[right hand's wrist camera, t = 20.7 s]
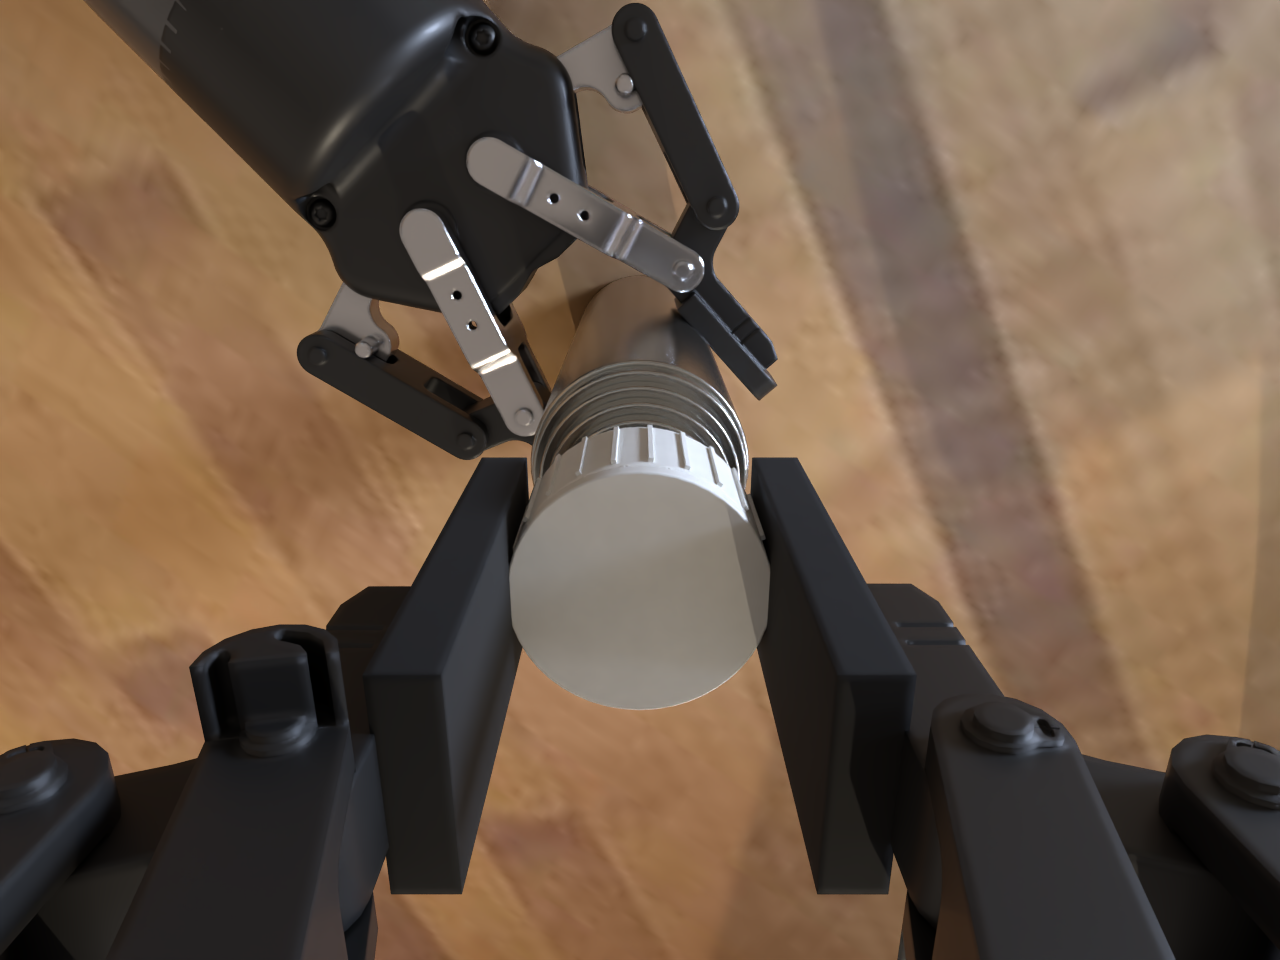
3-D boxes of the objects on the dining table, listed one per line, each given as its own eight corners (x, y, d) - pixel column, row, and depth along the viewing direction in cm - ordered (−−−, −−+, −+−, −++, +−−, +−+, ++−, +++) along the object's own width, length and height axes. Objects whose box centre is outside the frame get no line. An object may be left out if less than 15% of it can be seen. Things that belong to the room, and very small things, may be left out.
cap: (561, 658, 15) (547, 738, 13) (491, 455, 14) (464, 507, 12) (777, 608, 15) (800, 681, 13) (727, 395, 14) (743, 437, 11)
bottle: (563, 373, 32) (455, 653, 13) (602, 257, 31) (543, 388, 12) (675, 413, 33) (722, 734, 14) (719, 300, 31) (837, 492, 13)
